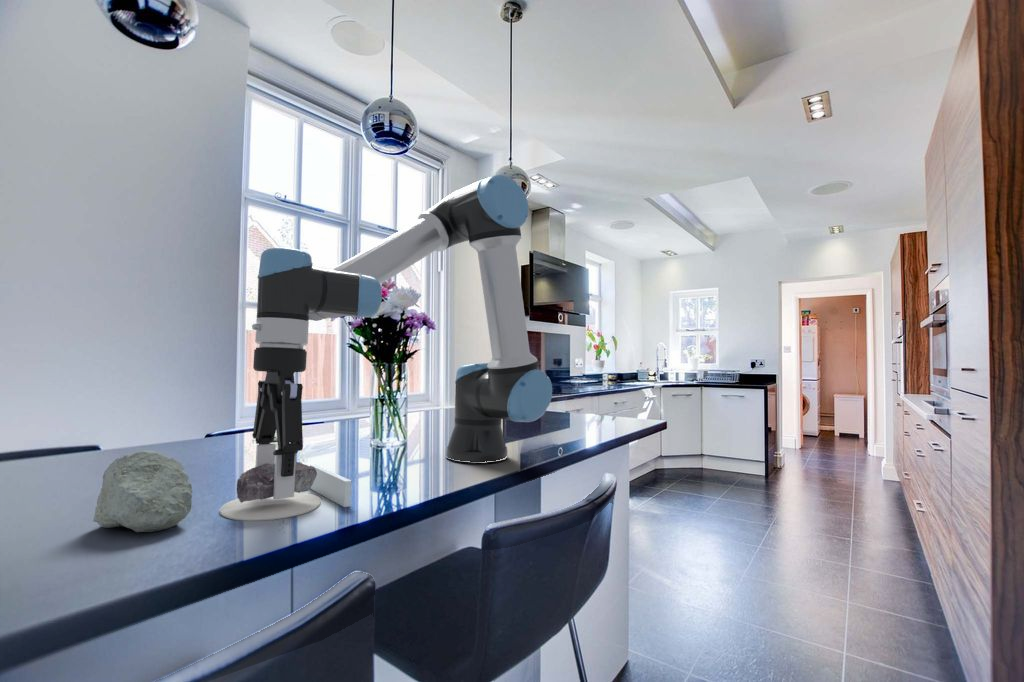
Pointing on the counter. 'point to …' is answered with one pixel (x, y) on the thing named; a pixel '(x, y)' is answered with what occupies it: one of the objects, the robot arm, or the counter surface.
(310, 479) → the rock
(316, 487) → the divider wall
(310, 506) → the pad
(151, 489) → the decorative stone
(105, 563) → the counter surface
